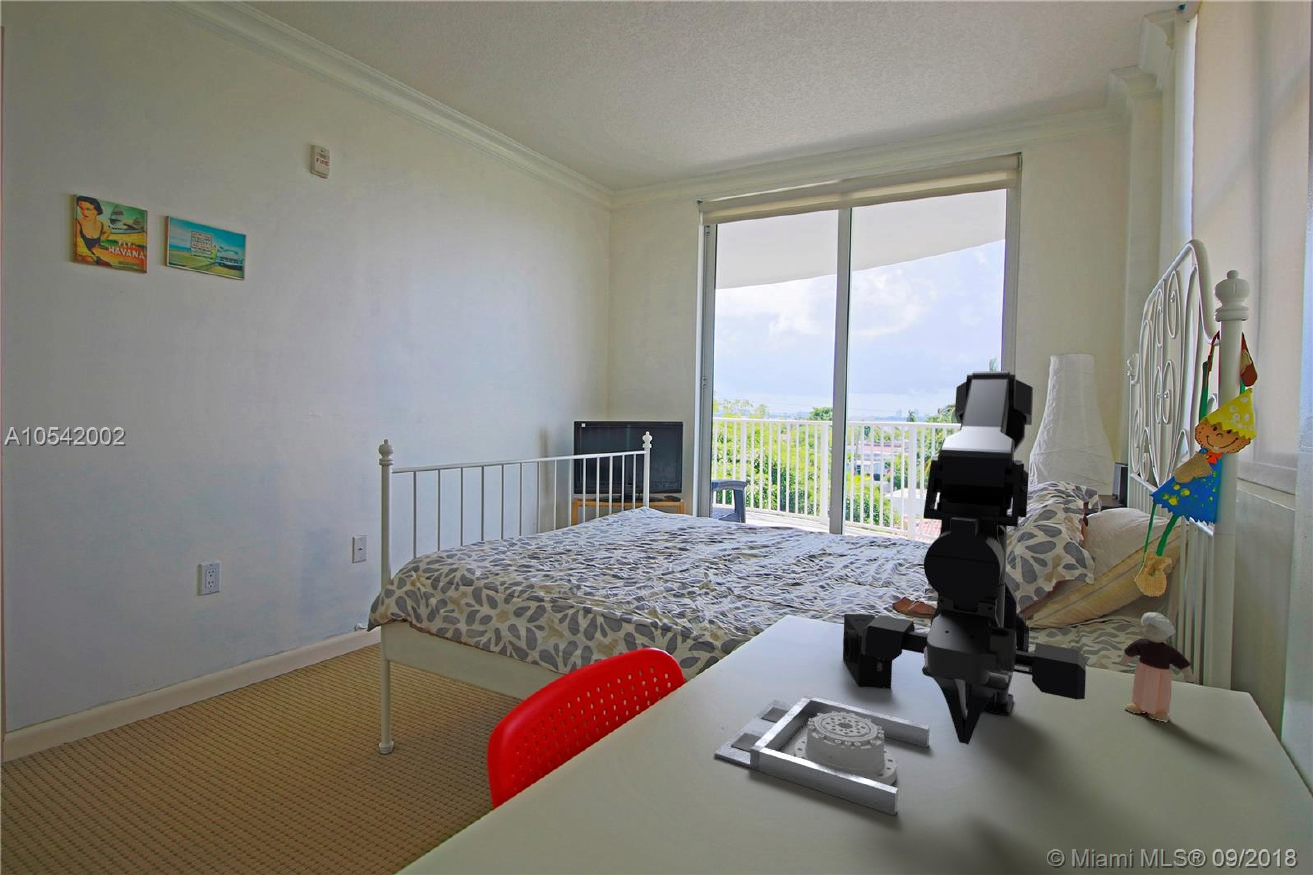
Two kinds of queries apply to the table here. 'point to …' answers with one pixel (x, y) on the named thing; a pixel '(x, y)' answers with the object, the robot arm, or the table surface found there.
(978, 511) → the robot arm
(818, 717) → the mechanical component
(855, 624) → the digital camera
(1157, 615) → the grandmother figurine
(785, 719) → the u-shaped metal bracket
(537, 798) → the table surface
